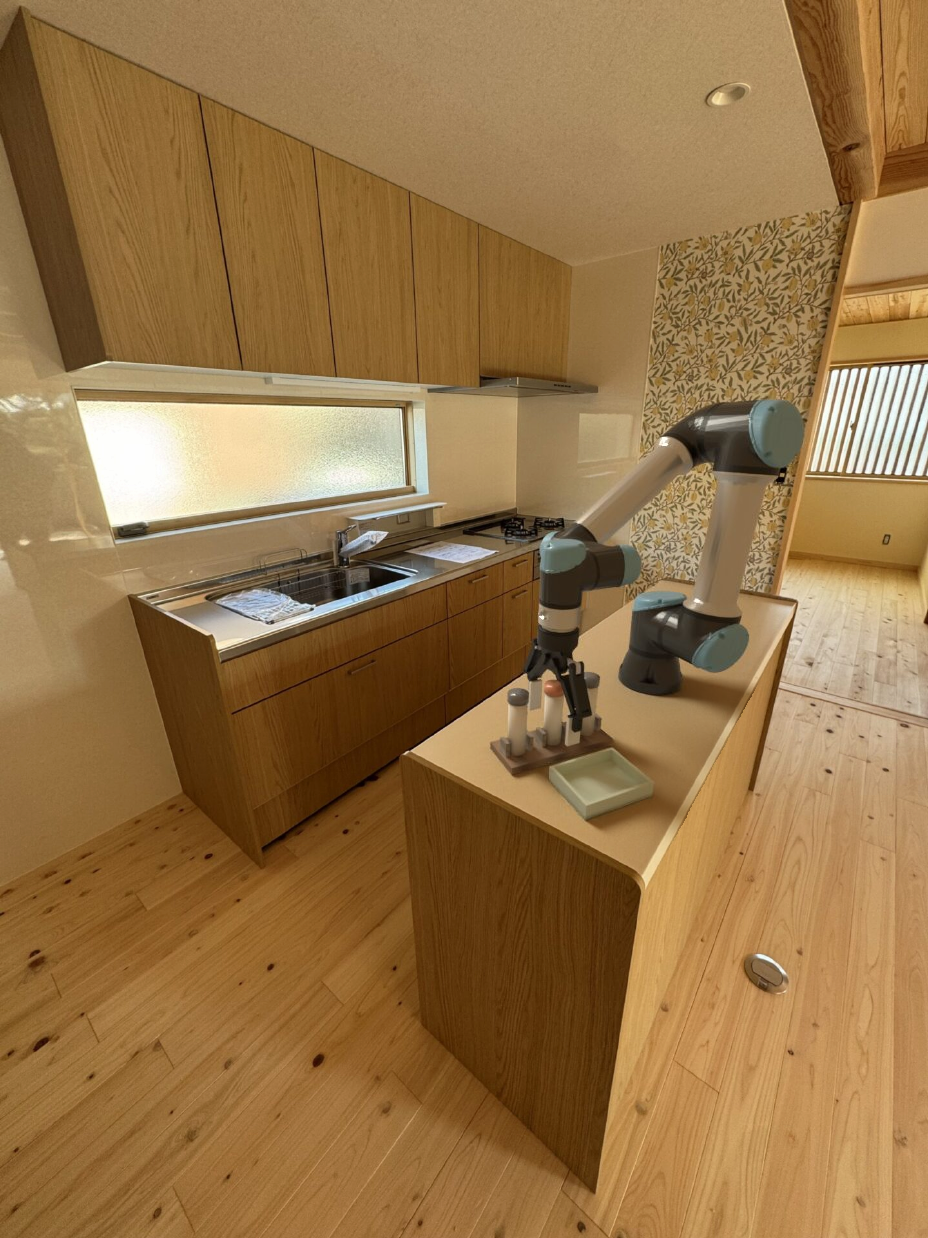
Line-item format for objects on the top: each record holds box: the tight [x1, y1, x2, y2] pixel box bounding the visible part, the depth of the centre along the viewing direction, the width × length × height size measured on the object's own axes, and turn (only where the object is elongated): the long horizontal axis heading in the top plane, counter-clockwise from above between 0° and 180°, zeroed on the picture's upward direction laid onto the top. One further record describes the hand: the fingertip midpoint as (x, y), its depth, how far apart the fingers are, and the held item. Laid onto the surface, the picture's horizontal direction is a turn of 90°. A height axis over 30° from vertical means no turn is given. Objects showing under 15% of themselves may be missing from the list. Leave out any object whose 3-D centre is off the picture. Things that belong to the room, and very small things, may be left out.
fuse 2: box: [580, 671, 601, 736], centre depth 100 cm, size 4×4×13 cm
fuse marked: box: [542, 679, 565, 746], centre depth 97 cm, size 4×4×13 cm
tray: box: [548, 747, 655, 821], centre depth 88 cm, size 14×11×3 cm
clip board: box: [489, 713, 614, 776], centre depth 99 cm, size 23×9×4 cm, turn 113°
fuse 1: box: [506, 687, 529, 756], centre depth 94 cm, size 4×4×13 cm
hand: (552, 725), depth 98 cm, fingers open, 13 cm apart
